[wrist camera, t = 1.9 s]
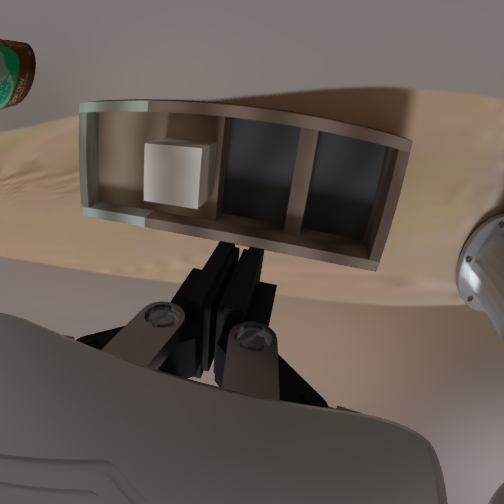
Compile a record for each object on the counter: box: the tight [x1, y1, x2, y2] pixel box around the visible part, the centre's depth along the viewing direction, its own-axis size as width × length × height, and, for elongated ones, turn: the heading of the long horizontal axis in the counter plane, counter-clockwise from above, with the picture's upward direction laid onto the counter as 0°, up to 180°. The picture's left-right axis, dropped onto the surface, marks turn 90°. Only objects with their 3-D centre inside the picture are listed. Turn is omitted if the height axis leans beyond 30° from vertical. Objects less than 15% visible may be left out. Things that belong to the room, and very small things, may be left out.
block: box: [144, 137, 217, 209], centre depth 26 cm, size 5×5×4 cm
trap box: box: [79, 99, 412, 271], centre depth 28 cm, size 30×12×4 cm, turn 83°
